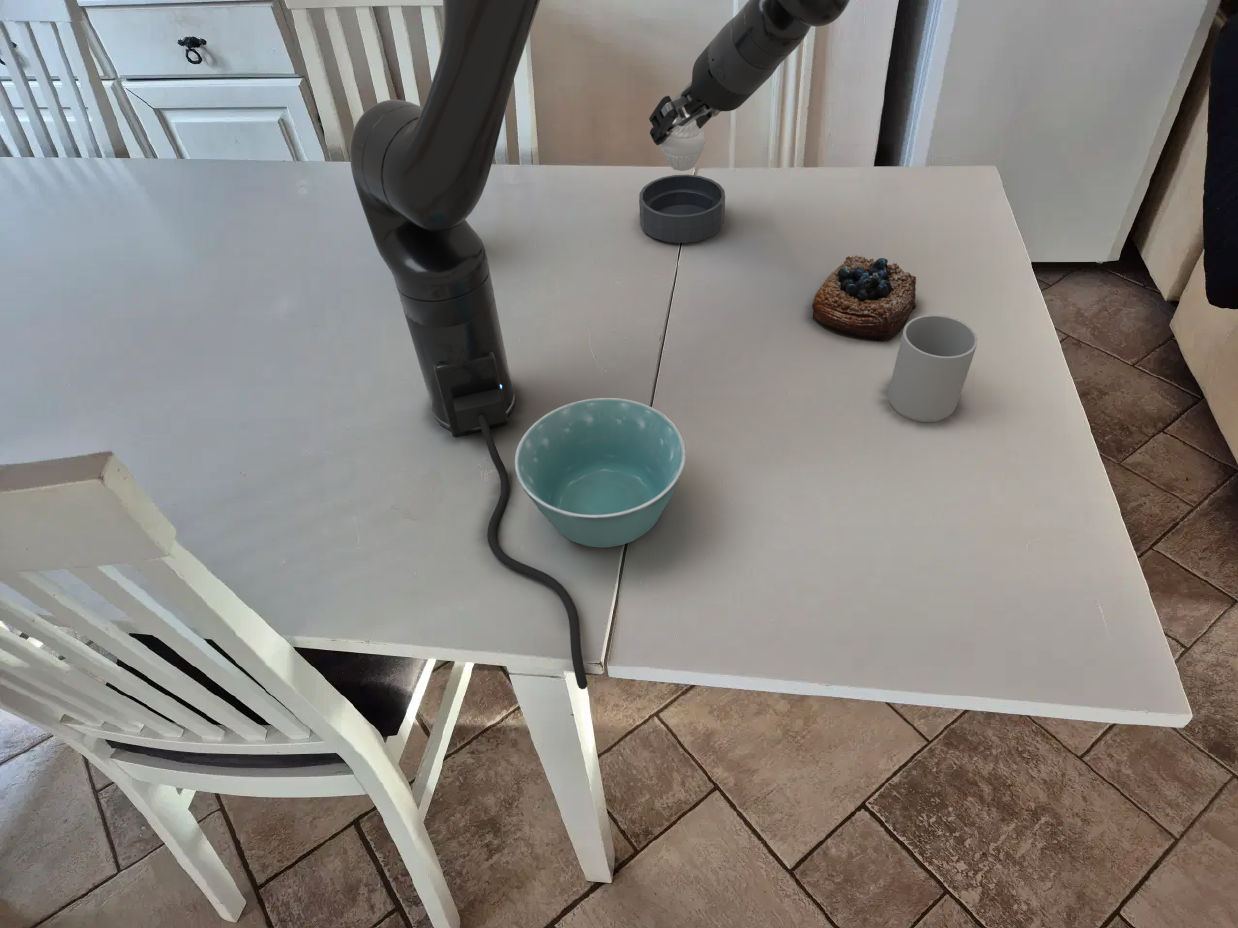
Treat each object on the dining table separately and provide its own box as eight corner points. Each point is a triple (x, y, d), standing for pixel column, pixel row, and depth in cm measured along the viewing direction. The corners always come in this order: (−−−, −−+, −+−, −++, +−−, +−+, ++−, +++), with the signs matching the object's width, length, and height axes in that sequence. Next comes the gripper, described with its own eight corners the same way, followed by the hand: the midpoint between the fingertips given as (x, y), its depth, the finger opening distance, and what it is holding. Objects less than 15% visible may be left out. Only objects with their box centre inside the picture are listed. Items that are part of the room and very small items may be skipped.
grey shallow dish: (736, 236, 114) (737, 207, 111) (655, 253, 112) (654, 223, 109) (706, 197, 122) (707, 168, 119) (630, 212, 120) (629, 183, 117)
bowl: (508, 480, 84) (495, 422, 78) (649, 437, 87) (646, 378, 81) (553, 597, 74) (542, 540, 68) (711, 543, 77) (714, 484, 71)
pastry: (923, 299, 102) (934, 258, 97) (888, 351, 95) (898, 309, 91) (840, 275, 106) (847, 235, 102) (801, 323, 100) (806, 283, 95)
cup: (879, 412, 88) (895, 347, 82) (903, 359, 94) (919, 294, 87) (947, 431, 85) (969, 365, 79) (967, 375, 91) (989, 310, 85)
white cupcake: (657, 175, 109) (656, 124, 104) (663, 155, 113) (662, 104, 108) (703, 176, 108) (704, 124, 103) (707, 155, 112) (708, 104, 107)
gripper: (769, 15, 96) (702, 89, 111) (674, 47, 90) (618, 121, 106) (797, 74, 96) (727, 140, 112) (704, 110, 91) (644, 173, 106)
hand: (674, 130), depth 109 cm, fingers closed on white cupcake, 6 cm apart
